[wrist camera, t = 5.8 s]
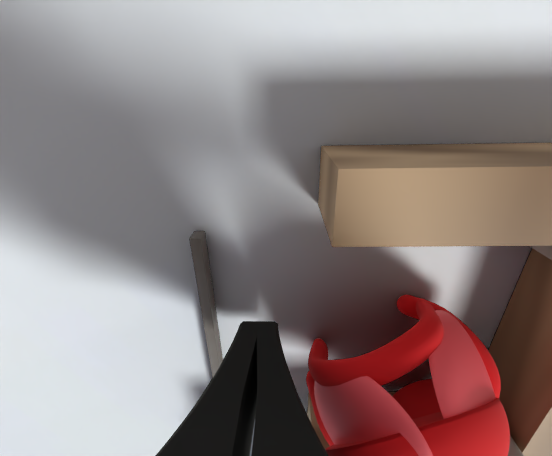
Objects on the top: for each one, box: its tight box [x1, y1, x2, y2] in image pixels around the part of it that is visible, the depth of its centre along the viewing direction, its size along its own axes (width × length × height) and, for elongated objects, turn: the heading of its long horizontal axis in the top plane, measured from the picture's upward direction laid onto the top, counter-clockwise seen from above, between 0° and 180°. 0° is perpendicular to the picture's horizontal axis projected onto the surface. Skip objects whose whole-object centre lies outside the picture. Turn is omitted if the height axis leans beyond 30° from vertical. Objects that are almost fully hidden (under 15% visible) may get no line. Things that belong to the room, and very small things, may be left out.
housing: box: [189, 143, 552, 456], centre depth 11 cm, size 14×20×4 cm
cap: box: [306, 295, 510, 456], centre depth 10 cm, size 8×6×6 cm
